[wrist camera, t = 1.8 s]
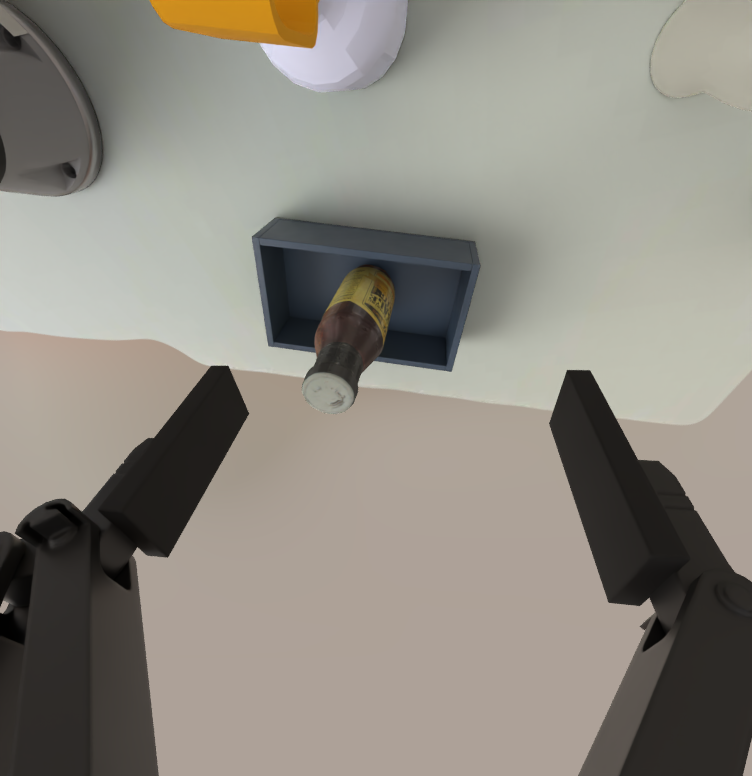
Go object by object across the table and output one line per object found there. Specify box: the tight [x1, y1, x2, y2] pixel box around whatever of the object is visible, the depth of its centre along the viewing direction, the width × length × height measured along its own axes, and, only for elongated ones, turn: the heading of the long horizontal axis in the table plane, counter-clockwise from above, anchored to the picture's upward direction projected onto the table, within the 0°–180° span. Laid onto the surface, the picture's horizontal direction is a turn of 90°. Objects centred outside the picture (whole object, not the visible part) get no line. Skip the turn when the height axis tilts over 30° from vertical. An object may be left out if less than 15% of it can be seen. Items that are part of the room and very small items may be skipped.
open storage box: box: [252, 218, 481, 372], centre depth 39 cm, size 21×12×6 cm, turn 85°
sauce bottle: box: [302, 264, 395, 414], centre depth 34 cm, size 7×6×20 cm
